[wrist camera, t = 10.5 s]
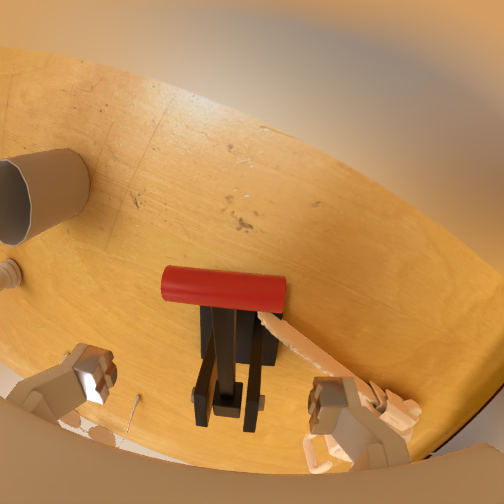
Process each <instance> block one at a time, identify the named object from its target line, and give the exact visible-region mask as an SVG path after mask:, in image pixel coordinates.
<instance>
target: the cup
mask: <svg viewBox="0 0 504 504" xmlns="http://www.w3.org/2000/svg"><path fill="white" fill-rule="evenodd" d="M89 189H90V179H89V174H88V169H87V166H86V165H85V163H84V162H83V160H82V158H81V157H80V155H79V154H77V153H75V152H73V151H72V150H70V149H57V150H50V151H43V152H37V153H32V154H26V155H21V156H15V157H10V158H6V159H1V160H0V241H1V242H2V243H3V244H4V245H7V246H13V247H16V246H18V245H20V244H22V243H23V242H25V241H27V240H29V239H31V238H32V237H34V236H36V235H38V234H40V233H42V232H44V231H45V230H47V229H49V228H51V227H53V226H55V225H57V224H59V223H61V222H63V221H65V220H67V219H69V218H71V217H73V216H74V215H76V214H78V213H80V212H81V211H82V209H83V207H84V206H85V204H86V202H87V201H88V196H89Z"/></svg>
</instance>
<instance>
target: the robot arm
mask: <svg viewBox="0 0 504 504" xmlns="http://www.w3.org/2000/svg"><path fill="white" fill-rule="evenodd" d="M113 358H114V357H113V354H112V352H111V351H110V350H106V349H102V348H99V347H95V346H91V345H87V344H84V343H79V344H78V345H77V346H76V347H75V348H74V350H73V351H72V352H71V354H70V355H69V356H68V357H67V359H66V360H65V361H64V363H63V364H62V365H57V366H54V367H52V368H50V369H48V370H45V371H43V372H41V373H38V374H36V375H34V376H32V377H29V378H27V379H25V380H22V381H20V382H18V383H17V385H16V386H15V387H14V389H13V390H12V391H11V393H10V394H9V395H8V396H7V398H6V399H4V398H2V397H1V396H0V504H504V454H503V453H502V452H500V451H499V450H497V449H496V448H494V447H493V446H491V445H489V444H486V443H483V444H478V445H475V446H472V447H469V448H466V449H462V450H459V451H456V452H453V453H449V454H446V455H442V456H438V457H434V458H430V459H426V460H422V461H417V462H413V463H411V459H410V456H409V453H408V450H407V446H406V443H405V440H404V438H403V437H401V436H400V435H399V434H398V433H396V432H395V431H394V430H393V429H392V428H390V427H389V426H388V425H387V424H386V423H384V422H383V421H382V420H381V419H380V418H379V417H377V416H376V415H375V414H374V413H373V412H371V411H370V410H369V409H368V408H367V407H366V406H362V405H361V401H360V397H359V394H358V390H357V387H356V383H355V380H354V378H353V377H352V376H348V377H315V378H314V381H313V389H312V390H311V391H310V394H309V399H308V413H309V414H310V415H311V418H310V421H309V424H310V433H311V435H331V436H332V437H333V438H334V439H335V441H336V442H337V443H338V444H339V445H340V447H341V448H342V449H343V450H344V451H345V453H346V454H347V455H348V456H349V457H350V459H351V460H352V461H353V462H354V465H353V466H352V467H351V469H350V470H349V471H348V472H343V473H329V474H261V473H246V472H235V471H226V470H218V469H210V468H203V467H197V466H191V465H185V464H180V463H175V462H170V461H166V460H161V459H157V458H152V457H148V456H144V455H140V454H137V453H133V452H130V451H126V450H122V449H119V448H116V447H113V446H110V445H107V444H104V443H101V442H98V441H95V440H92V439H89V438H87V437H84V436H82V435H79V434H76V433H74V432H71V431H69V430H66V429H64V428H62V427H61V426H60V424H59V423H58V421H57V420H59V419H60V418H62V417H63V416H65V415H66V414H68V413H69V412H71V411H72V410H73V409H75V408H76V407H78V406H79V405H81V404H82V403H84V402H85V401H87V400H90V401H93V402H97V403H100V404H104V403H105V401H106V399H107V397H108V395H109V390H108V389H109V388H111V387H113V386H114V384H115V382H116V379H117V368H116V365H115V364H114V363H113V362H112V360H113ZM86 399H87V400H86Z"/></svg>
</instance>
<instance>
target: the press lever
mask: <svg viewBox="0 0 504 504" xmlns="http://www.w3.org/2000/svg"><path fill="white" fill-rule="evenodd" d="M161 294H162V298H163V299H164V300H165V301H170V302H178V303H186V304H194V305H202V306H210V307H211V311H212V322H213V333H214V344H215V354H216V364H217V373H218V380H216V384H215V390H214V396H213V403H212V406H213V411H214V415H216V416H224V417H232V418H240V410H241V401H242V391H243V383H242V382H235V364H236V309H238V310H248V311H259V312H270V313H282V312H283V310H284V305H285V297H286V278H285V277H284V276H273V275H262V274H251V273H240V272H230V271H220V270H210V269H200V268H190V267H181V266H171V265H169V266H167V267H166V268H165V270H164V272H163V275H162V280H161Z"/></svg>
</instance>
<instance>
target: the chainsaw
mask: <svg viewBox="0 0 504 504" xmlns="http://www.w3.org/2000/svg"><path fill="white" fill-rule="evenodd" d="M257 312H258V318H259V319H260V320H261V321H262V322H261V324H262V325H265V327H266V328H267V329H268V330H269V331H270V332H271V334H272V335H274V336H275V337H276V338H278V339H279V340H280V341H281V342H283V343H284V345H286V346H288V347H289V349H290V350H293V351H295V352H296V353H298V354H299V356H301V357H303V358H305V359H306V360H307V361H309V362H310V363H311V364H312V365H314V367H315V368H319V369H321V370H322V371H323V372H324V373H326V374H328V375H329V376H331V377H348V376H352V377H353V378H354V380H355V383H356V387H357V390H358V394H359V397H360V401H361V405H362V406H366V407H367V408H368V409H369V410H370V411H371V412H373V413H374V414H375V415H376V416H377V417H379V418H380V419H381V420H382V421H383V422H384V423H386V424H387V425H388V426H389V427H390V428H392V429H393V430H394V431H395V432H396V433H398V434H399V435H400V436H401V437H403V438H404V440H405V443H406V444H407V443H408V442H409V441H410V439H411V437H412V433H413V430H412V427H413V425H415V423H417V422H418V421H419V420H420V419H418V418H417V417H418V416H419V415H420V414H421V413H422V410H421V408H420V406H419V405H418V403H416V402H415V401H414V400H412V399H409V400H406V401H404V400H403V399H402V398H400V397H399V396H398V395H396V394H394V393H392V392H391V391H389V390H388V389H386V390H385V391H386V393H384V391H383V390H382V389H380V388H379V387H378V386H377V385H376V384H374V383H373V382H372V381H370V384H371V386H372V388H371V386H369V385H368V384H366V383H365V382H364V380H361V379H360V378H359V377H357V376H356V375H354V374H353V373H352V372H350V371H349V370H348V368H347V367H346V368H345V367H344V366H343V365H342V364H340V363H339V362H337V361H336V360H335V359H334V358H332V357H331V356H330V354H329V353H328V354H327V353H326V352H325V351H323V350H322V349H320V348H319V347H318V346H317V345H315V344H314V343H313V342H311V341H310V339H309V338H306V337H305V336H304V335H302V334H301V333H299V332H298V331H297V330H295V328H294V327H292V326H290V325H289V324H287V321H286V320H285V321H284V320H283V319H282V321H281V320H280V319H279V318H277V317H276V316H275V315H273V314H272V313H270V312H259V311H257ZM316 436H317V435H311V433H310V431H309V432H308V433H307V434H306V435H305V437H304V439H303V446H304V451H305V455H306V460H307V464H308V468H309V471H310V472H311V473H313V474H321V473H323V472H325V471H327V470H328V469H330V468H331V467H332V465H333V464H332V462H331V461H326V462H324V463H322V464H320V465H319V466H317V462H316V458H315V454H314V450H313V446H312V442H311V441H312V439H313V438H314V437H316ZM324 437H325V440H326V443H327V447H328V450H329V453H330V454H331V455H332V456H335V457H337V458H340V459H342V460H345V461H349V462H353V461H352V460H351V459H350V457H349V456H348V455H347V454H346V453H345V451H344V450H343V449H342V448H341V447H340V445H339V444H338V443H337V442H336V441H335V439H334V438H333V437H332V436H331V435H324ZM410 459H411V458H410ZM411 461H412V460H411ZM353 465H354V462H353V463H352V465H351V467H352V466H353Z"/></svg>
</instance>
